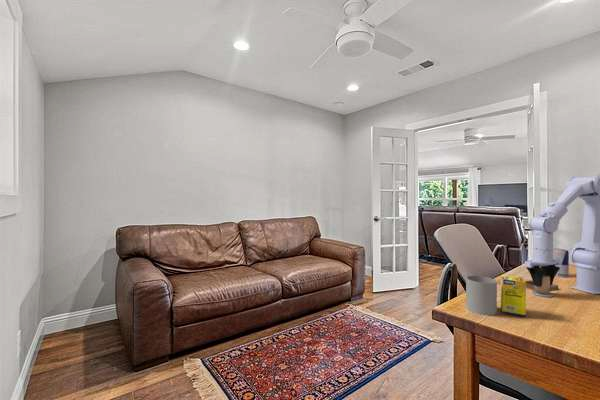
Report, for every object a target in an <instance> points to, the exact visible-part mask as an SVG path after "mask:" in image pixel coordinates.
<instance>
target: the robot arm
mask: <svg viewBox="0 0 600 400" xmlns="http://www.w3.org/2000/svg"><path fill="white" fill-rule="evenodd" d="M578 198H580V199H582V200H583V201H584V212H583V221H582V227H581V228H582V230H581V240H580V241H579V242H577V243H575V244H574V245H573V246H572V250H571V252H570V253H569V256H570V257H569V259H570V261H571V262H572V263H573V265H574V266H575V267H576V285H573V286H570V289H574V290H578V291H581V292H586V293H589V294H593V295H600V175H594V176H593V175H591V176H572V177H569V179H568V180H567V182H566V183H565V189H564V191H563V192H562V194H561V195H560V196H559V198H558V199H557V200H556V201H551V202H549V203H548V204H547V206H546V207H545V208H544V209H543V210H542V211H541V213H540V214H538V216H537V215H536V216H533V217H532V218H531V219H530V221H529V223H528V227H529V229H530V234H531V236H532V258H529V259H530V260H526V261H524V267H525V268H526V270H527V271H528V272H529V274H530V276H531V280H533V283H534V285H535V286H538V287H541V285H542V278H543V275H548V276H550V286H551V285H552V284H554V279H555V278H556V276H555V275H556V274H557V272H558V271H559V270H560V267H557V266H555V265H561V260H557V259H553V250H554V233H555V232H557V230H558V229H559V224H560V222H561V221H560V220H561V219H562V218H563V217H564V216H565V215H566V214H567V213H568V206H570V205H571V204H572V203H573V202H574V201H575V200H576V199H578Z"/></svg>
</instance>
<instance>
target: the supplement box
mask: <svg viewBox="0 0 600 400" xmlns="http://www.w3.org/2000/svg"><path fill="white" fill-rule="evenodd" d="M525 281H526V280H525V278H524V277H523V276H515V275H514V276H513V275H506V274H501V275H500V309H501V314H504V315H509V316H510V315H511V316H515V317H520V318H526V317H527V316H526V312H527V311H526V310H527V303H526V302H527V299H526V297H527V295H526V292H527V288H526V282H525Z"/></svg>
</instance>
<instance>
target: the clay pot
mask: <svg viewBox="0 0 600 400" xmlns="http://www.w3.org/2000/svg"><path fill="white" fill-rule="evenodd" d="M533 291H536V292H539V293H545V294H549V293H551V290H550V276H548V275H543V278H542V285H541V287H538V286H535V285H534V290H533Z"/></svg>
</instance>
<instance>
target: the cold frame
mask: <svg viewBox="0 0 600 400" xmlns="http://www.w3.org/2000/svg"><path fill="white" fill-rule="evenodd" d="M525 282H526V289H529V290H531V291H534V283H533V280H532V279H531V280H525ZM556 290H559V285H558V284H554V283H552V285H551V286H550V291H556Z"/></svg>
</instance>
